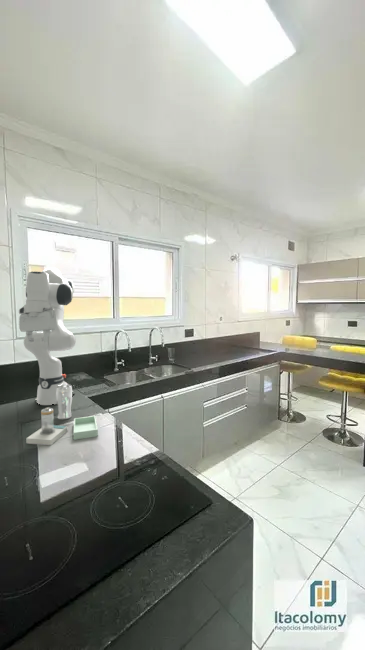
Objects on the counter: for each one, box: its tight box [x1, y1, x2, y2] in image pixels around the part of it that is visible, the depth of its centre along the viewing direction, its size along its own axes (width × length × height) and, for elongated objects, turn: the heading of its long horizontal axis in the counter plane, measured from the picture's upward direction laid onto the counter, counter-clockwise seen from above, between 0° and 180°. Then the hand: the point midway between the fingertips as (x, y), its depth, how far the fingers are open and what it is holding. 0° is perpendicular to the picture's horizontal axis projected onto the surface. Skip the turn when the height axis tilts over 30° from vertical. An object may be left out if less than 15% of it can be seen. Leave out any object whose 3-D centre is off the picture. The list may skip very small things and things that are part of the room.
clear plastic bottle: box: [56, 383, 73, 421], centre depth 132 cm, size 7×7×15 cm
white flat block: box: [25, 424, 68, 446], centre depth 112 cm, size 12×10×2 cm
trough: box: [72, 415, 99, 441], centre depth 118 cm, size 15×9×3 cm, turn 21°
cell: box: [40, 406, 55, 434], centre depth 111 cm, size 4×4×10 cm
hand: (37, 341), depth 116 cm, fingers open, 8 cm apart
